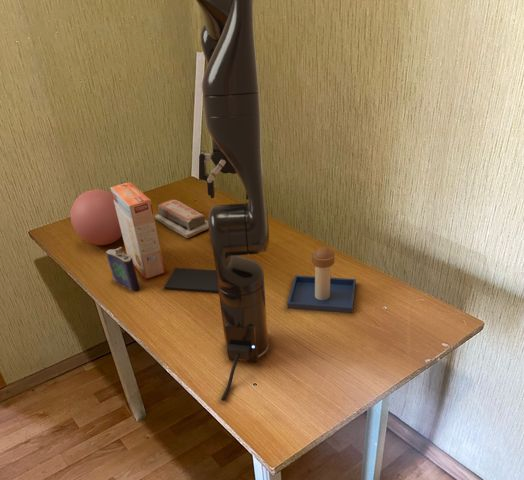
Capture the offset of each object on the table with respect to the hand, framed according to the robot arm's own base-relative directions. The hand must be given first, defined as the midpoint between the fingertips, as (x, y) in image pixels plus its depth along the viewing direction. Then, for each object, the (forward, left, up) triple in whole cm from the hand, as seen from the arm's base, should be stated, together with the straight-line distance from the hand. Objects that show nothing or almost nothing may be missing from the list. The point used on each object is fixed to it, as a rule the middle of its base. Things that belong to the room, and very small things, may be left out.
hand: (230, 197), depth 127 cm
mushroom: (-10, -24, -20) cm, 32 cm away
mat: (-7, +6, -20) cm, 22 cm away
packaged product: (+23, +22, -20) cm, 38 cm away
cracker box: (-1, +25, -20) cm, 32 cm away
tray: (-10, -24, -20) cm, 33 cm away
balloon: (+12, +41, -20) cm, 47 cm away
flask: (-11, +27, -20) cm, 35 cm away
